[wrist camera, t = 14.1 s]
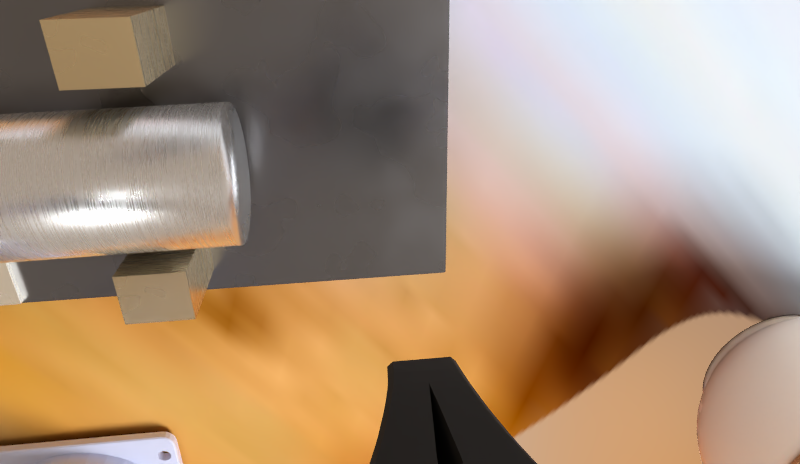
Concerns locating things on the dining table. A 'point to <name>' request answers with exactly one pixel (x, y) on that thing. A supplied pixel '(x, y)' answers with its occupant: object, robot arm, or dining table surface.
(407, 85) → the plate
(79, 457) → the robot arm
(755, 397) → the lidded jar
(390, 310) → the dining table surface
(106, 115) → the tube
